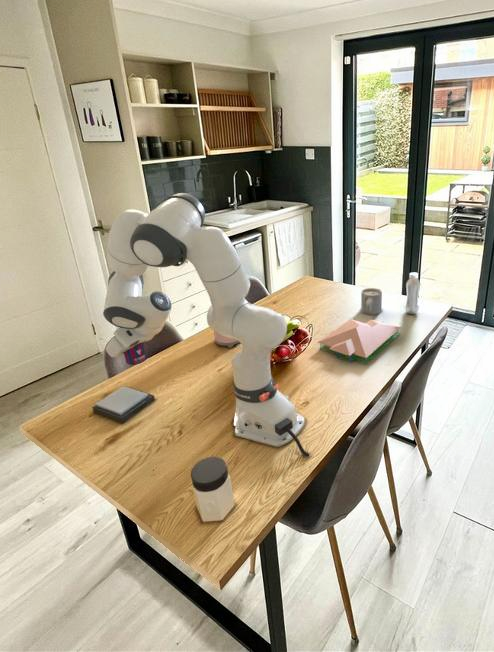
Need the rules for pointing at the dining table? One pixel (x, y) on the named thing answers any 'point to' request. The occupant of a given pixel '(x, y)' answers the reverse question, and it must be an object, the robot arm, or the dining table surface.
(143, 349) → the cup
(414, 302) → the plastic bottle
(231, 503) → the jar
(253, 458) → the dining table surface
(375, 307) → the coffee mug
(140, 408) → the scale
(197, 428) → the dining table surface
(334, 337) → the house
